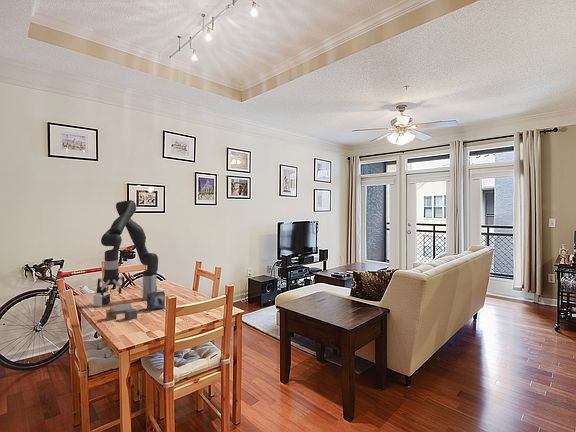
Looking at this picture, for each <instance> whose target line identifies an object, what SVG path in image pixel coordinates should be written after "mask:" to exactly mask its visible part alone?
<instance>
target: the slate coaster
mask: <svg viewBox="0 0 576 432" xmlns="http://www.w3.org/2000/svg"><path fill="white" fill-rule="evenodd" d="M132 307H133V306H132V304H131V303H127V304H126V303H125V304H120V305H113V306H112V305H111V306H109V310H111V309H116V315H120V314H121V315H122V314H125V310H129V309H133V308H132Z"/></svg>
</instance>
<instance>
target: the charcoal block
mask: <svg viewBox="0 0 576 432" xmlns="http://www.w3.org/2000/svg"><path fill="white" fill-rule="evenodd" d="M124 319H125V320H127V321H132V320H135V319H138V310H137V309H135V308H132V309H129V310H125V313H124Z"/></svg>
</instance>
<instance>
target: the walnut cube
mask: <svg viewBox="0 0 576 432" xmlns="http://www.w3.org/2000/svg"><path fill="white" fill-rule="evenodd" d="M105 316H106V318H105V319H106V322H107V321H109V322H110V321H114V320H117V314H116V309H111V310H110V309H106V315H105Z"/></svg>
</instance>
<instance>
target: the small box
mask: <svg viewBox="0 0 576 432" xmlns="http://www.w3.org/2000/svg"><path fill="white" fill-rule="evenodd" d="M165 295H166V292H165V291H164V290H162V291H157V292H150V293H147V300H146V309H147V311H157V310H165V307H166V305H165V304H166V300H165V299H166V296H165Z"/></svg>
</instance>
